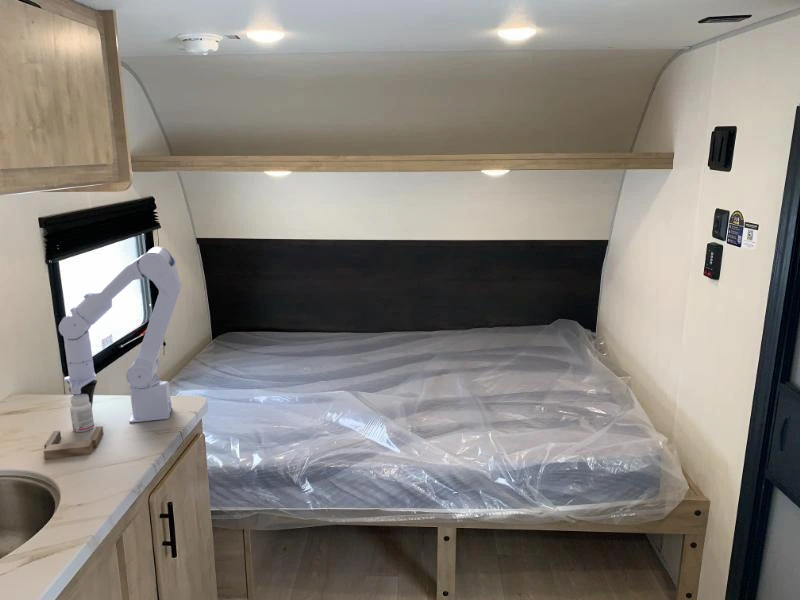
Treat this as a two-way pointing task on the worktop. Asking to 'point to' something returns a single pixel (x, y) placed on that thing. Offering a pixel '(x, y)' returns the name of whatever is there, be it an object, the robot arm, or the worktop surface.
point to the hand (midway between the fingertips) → (86, 410)
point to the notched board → (71, 445)
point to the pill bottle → (81, 413)
